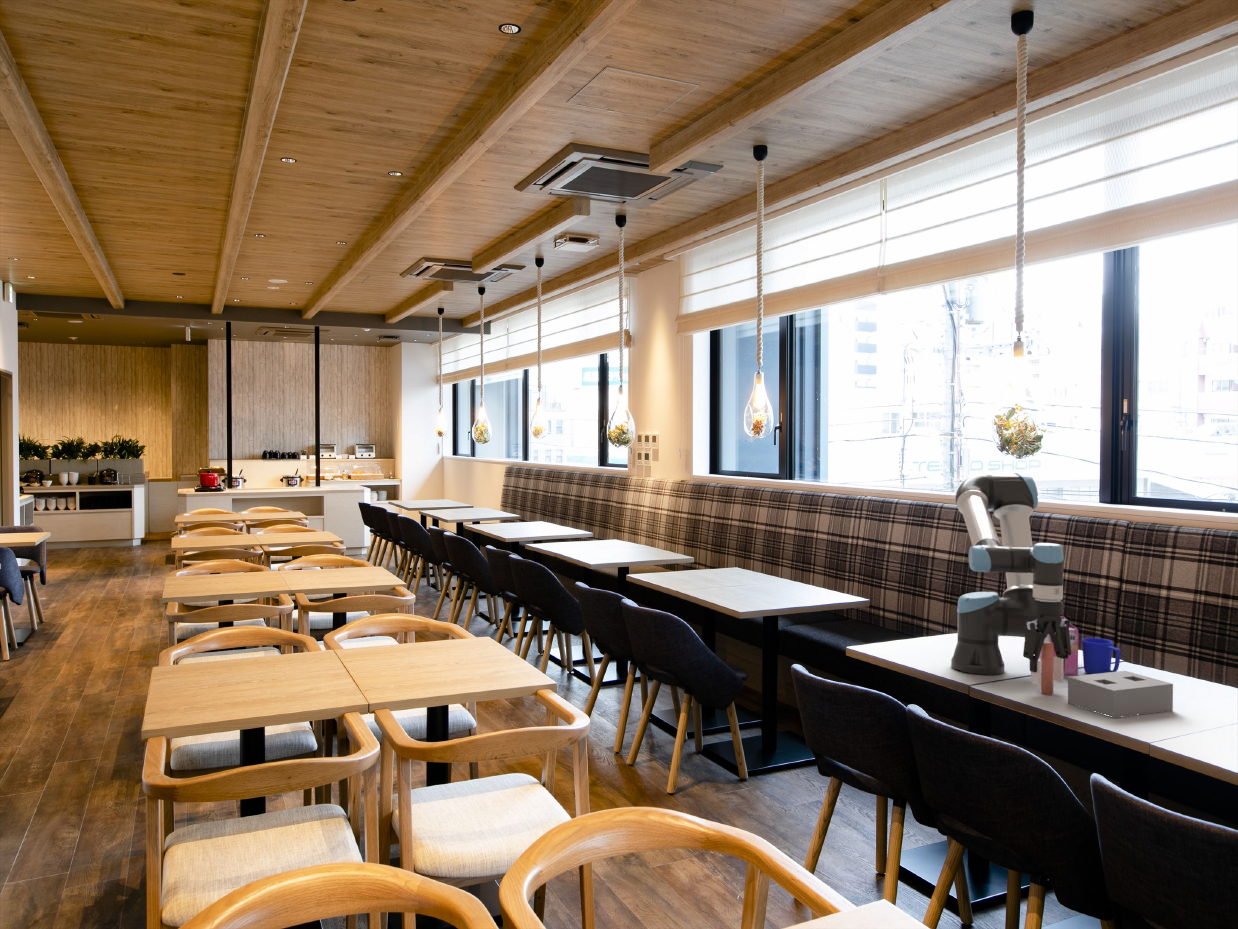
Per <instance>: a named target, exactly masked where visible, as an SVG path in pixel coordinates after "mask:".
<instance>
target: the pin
mask: <svg viewBox="0 0 1238 929" xmlns="http://www.w3.org/2000/svg"><path fill="white" fill-rule="evenodd" d="M1053 644H1054V643H1051V642H1044V643H1043V646H1042V649H1041V659H1040V661H1041V685H1040V694H1042V693H1043V694H1042V695H1045V694H1046V695H1045V696H1053V695H1054V680H1053ZM1047 694H1048V695H1047ZM1052 694H1053V695H1052Z"/></svg>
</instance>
